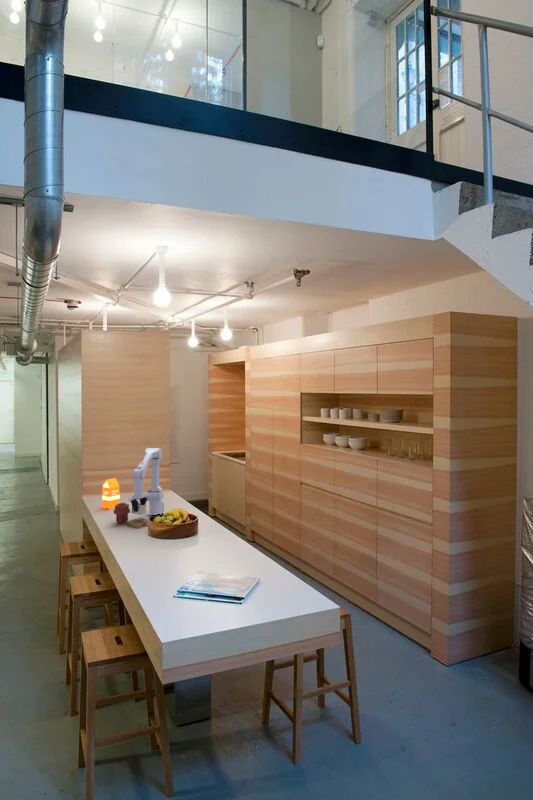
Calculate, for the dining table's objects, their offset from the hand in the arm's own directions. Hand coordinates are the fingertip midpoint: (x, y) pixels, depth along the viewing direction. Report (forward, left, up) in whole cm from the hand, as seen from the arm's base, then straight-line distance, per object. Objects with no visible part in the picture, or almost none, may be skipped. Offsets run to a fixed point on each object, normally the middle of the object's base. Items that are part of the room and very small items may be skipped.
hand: (139, 510), depth 320 cm
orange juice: (-16, -51, -9) cm, 54 cm away
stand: (0, 0, -9) cm, 9 cm away
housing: (0, 0, -2) cm, 2 cm away
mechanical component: (+4, -12, -9) cm, 15 cm away
